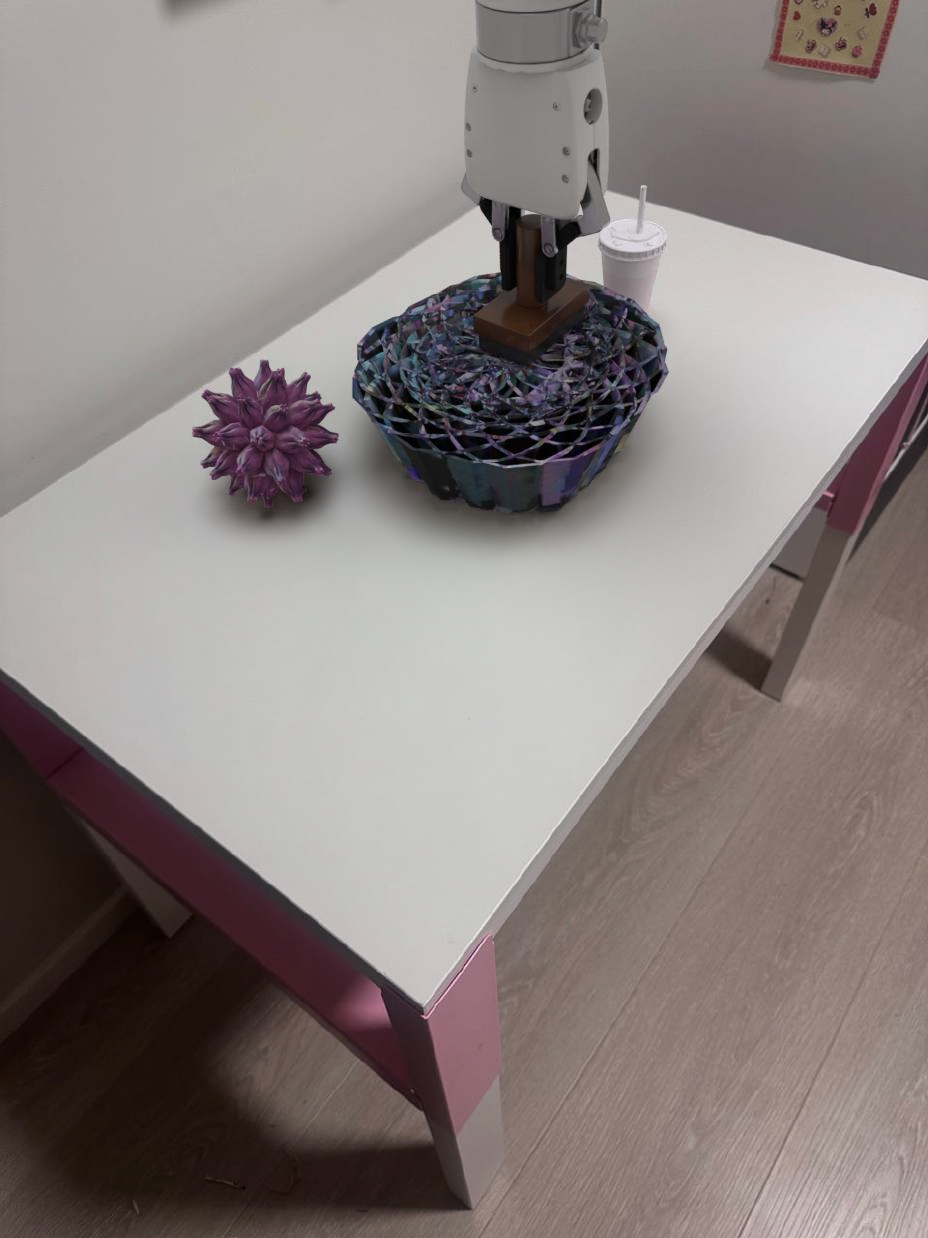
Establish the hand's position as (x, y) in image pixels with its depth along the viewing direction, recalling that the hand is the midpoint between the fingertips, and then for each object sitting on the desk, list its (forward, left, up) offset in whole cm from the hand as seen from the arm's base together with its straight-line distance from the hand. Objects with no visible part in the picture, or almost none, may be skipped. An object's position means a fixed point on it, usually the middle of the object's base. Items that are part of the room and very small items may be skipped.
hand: (532, 287), depth 71 cm
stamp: (0, 0, -4) cm, 4 cm away
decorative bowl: (+2, +3, -13) cm, 13 cm away
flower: (+22, +9, -13) cm, 27 cm away
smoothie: (-10, -13, -13) cm, 21 cm away
